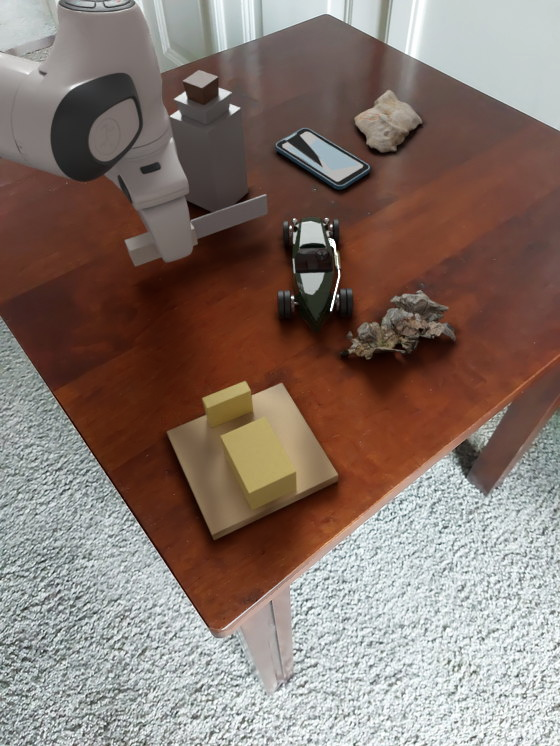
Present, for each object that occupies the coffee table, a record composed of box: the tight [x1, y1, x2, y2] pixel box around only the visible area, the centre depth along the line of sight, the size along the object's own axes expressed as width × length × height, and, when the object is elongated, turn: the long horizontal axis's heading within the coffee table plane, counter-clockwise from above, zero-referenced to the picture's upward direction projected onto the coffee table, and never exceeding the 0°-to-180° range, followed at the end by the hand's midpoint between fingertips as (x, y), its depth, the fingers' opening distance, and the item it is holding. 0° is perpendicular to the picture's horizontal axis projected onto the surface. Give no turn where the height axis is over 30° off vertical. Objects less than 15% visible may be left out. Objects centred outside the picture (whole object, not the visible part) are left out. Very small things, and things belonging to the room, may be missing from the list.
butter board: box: [166, 382, 339, 541], centre depth 63 cm, size 14×13×2 cm
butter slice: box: [201, 380, 253, 428], centre depth 64 cm, size 5×2×4 cm, turn 115°
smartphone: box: [275, 127, 371, 191], centre depth 94 cm, size 7×1×15 cm
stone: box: [353, 89, 423, 153], centre depth 98 cm, size 13×11×3 cm
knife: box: [124, 193, 269, 267], centre depth 80 cm, size 20×2×3 cm, turn 116°
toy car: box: [277, 216, 354, 334], centre depth 77 cm, size 9×20×5 cm, turn 0°
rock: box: [339, 289, 456, 360], centre depth 72 cm, size 8×15×4 cm, turn 115°
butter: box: [220, 417, 297, 510], centre depth 60 cm, size 5×7×4 cm
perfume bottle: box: [169, 69, 249, 213], centre depth 83 cm, size 7×7×18 cm
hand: (160, 241), depth 79 cm, fingers closed on knife, 2 cm apart
